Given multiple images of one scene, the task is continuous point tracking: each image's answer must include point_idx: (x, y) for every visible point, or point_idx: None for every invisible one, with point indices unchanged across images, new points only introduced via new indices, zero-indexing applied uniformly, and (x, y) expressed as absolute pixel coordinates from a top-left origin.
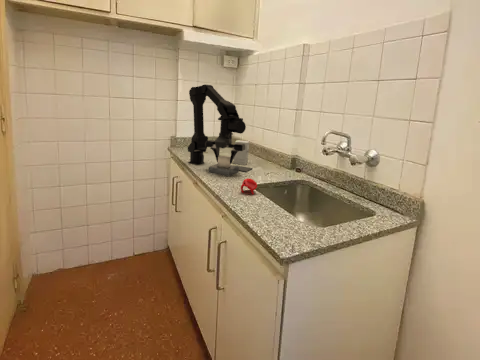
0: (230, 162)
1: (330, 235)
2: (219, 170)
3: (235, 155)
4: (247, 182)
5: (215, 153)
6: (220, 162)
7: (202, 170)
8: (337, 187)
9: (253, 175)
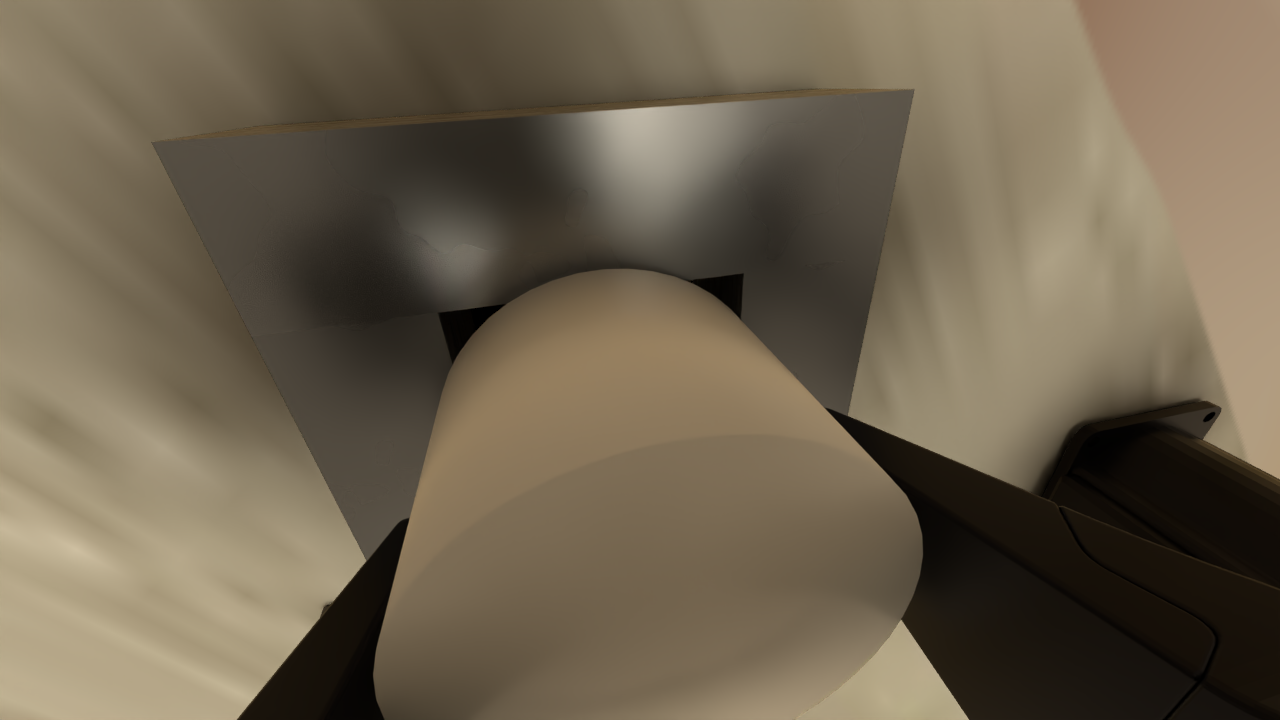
0: (396, 543)
1: None
2: (552, 110)
3: None
4: None
5: (1158, 579)
6: (658, 319)
7: (969, 185)
8: None
9: (56, 574)
